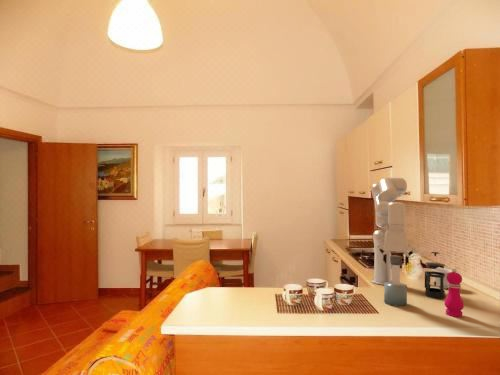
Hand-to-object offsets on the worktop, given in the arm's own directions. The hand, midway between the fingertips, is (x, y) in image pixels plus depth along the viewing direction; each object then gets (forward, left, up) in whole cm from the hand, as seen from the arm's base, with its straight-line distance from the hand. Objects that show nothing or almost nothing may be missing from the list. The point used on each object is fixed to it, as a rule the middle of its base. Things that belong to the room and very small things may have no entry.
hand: (395, 263), depth 166 cm
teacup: (-37, +41, -19) cm, 58 cm away
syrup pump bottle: (0, 0, -19) cm, 19 cm away
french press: (-16, +26, -19) cm, 36 cm away
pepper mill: (+14, +20, -19) cm, 31 cm away
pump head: (-1, +1, -9) cm, 9 cm away
